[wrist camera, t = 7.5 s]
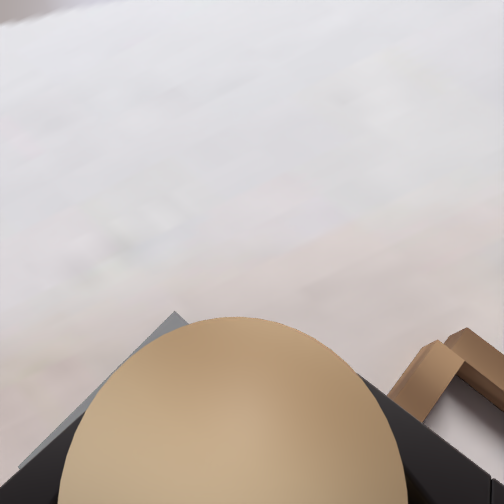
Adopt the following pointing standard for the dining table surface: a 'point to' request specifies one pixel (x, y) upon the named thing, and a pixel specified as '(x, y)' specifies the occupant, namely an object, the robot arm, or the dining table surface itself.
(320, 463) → the oak peg
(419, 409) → the walnut frame
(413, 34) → the dining table surface
